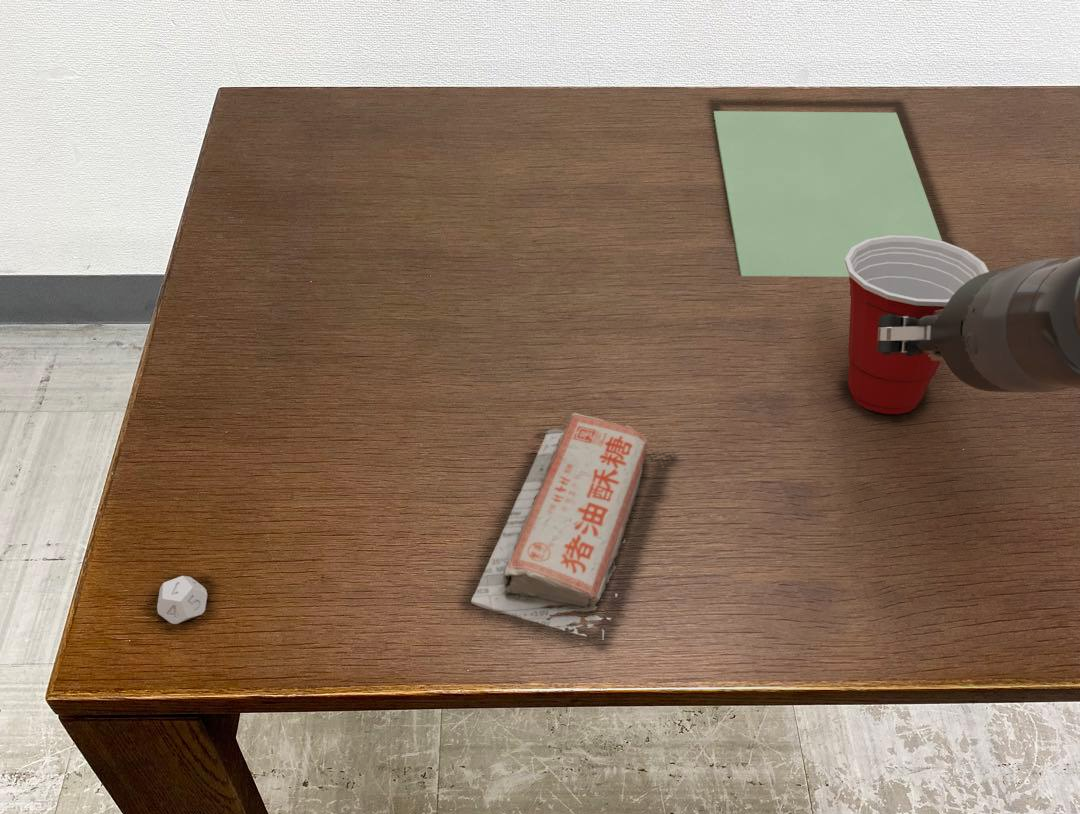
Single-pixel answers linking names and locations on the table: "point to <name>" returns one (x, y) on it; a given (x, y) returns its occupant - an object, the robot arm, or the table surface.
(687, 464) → the table surface
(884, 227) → the mat
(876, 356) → the plastic cup
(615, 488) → the packaged product
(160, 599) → the game die
